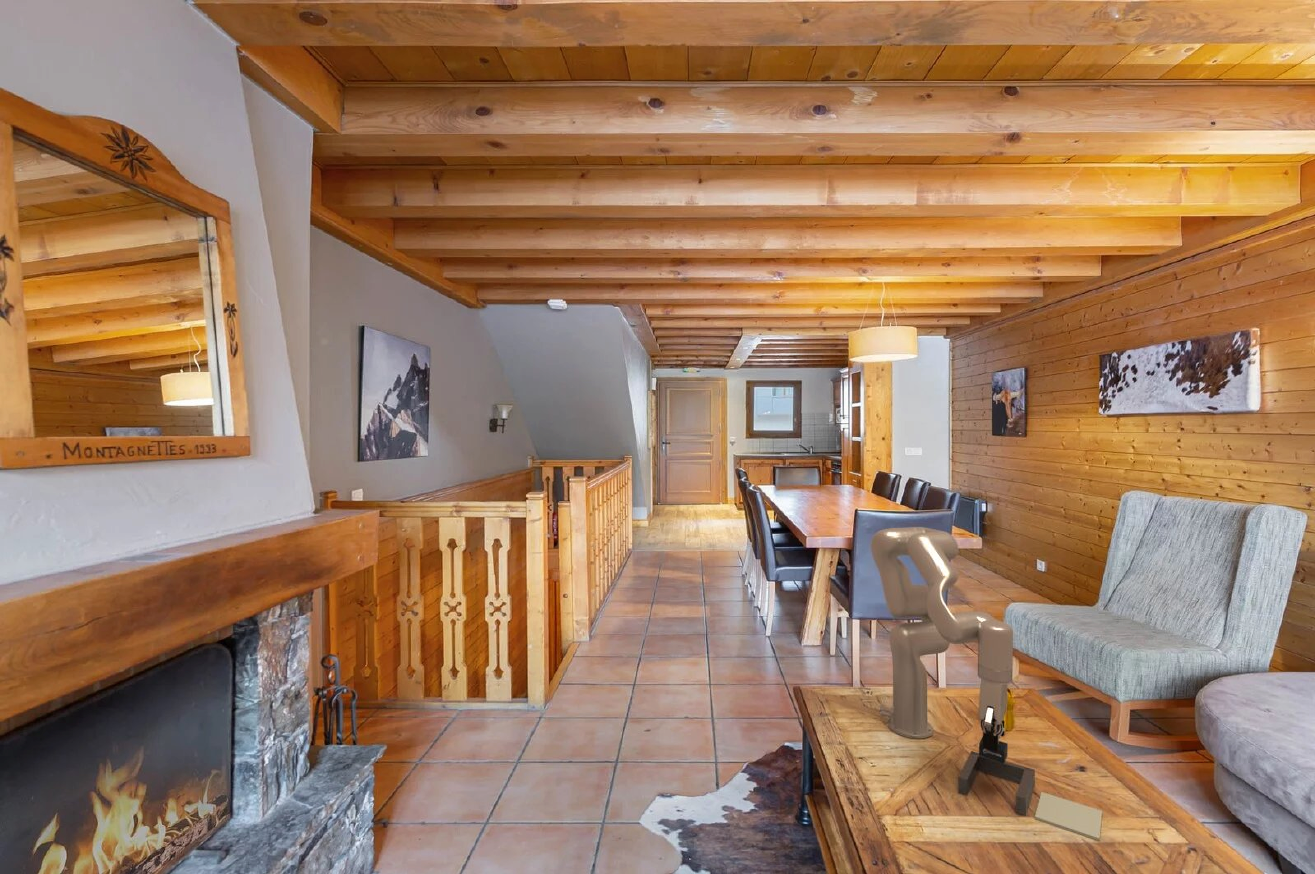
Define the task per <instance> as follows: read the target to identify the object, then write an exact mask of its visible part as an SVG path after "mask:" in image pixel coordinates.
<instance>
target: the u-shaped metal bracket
mask: <svg viewBox="0 0 1315 874" xmlns="http://www.w3.org/2000/svg"><path fill="white" fill-rule="evenodd" d="M979 772H981V773H984V774H987V775H990V776H994V777H997V778H1001V779H1003V780H1007V781H1010V782H1013V783H1016V784H1019V786H1018V788H1017V792H1016V794H1015V813H1016V814H1018V813H1019V815H1021V816H1025V817H1026V816H1027V814H1028V810H1029V806H1030V803H1031V799H1032V797H1033V792H1034V789H1035V786H1036V781H1035V780H1036V776H1035V773H1036V772H1035V769H1034V768H1031V767H1030V768H1029V767H1026V766H1023V765H1021V764H1017V763H1013V762H1009V761H1007V760H1005V763H1001V762H998V761H995V760H991V759H988V758H985V757H982V756H979V752H976V751H973V750H971V751H970V753H969V755H968V757H967V759H966V761H965V763H964V765H963V766H962V768H961V770H960V773H959V774H958V777H957V793H958V794H959V795H963V796H966V797H968V796H969V793H970V791H971V788H972V786H973V784H974V783H975V780H976V778H977V775H978V773H979Z"/></svg>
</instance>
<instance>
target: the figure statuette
mask: <svg viewBox="0 0 1315 874" xmlns="http://www.w3.org/2000/svg"><path fill="white" fill-rule="evenodd" d="M1013 695H1014V694H1013V691H1012V690H1011V689H1010V688H1009V687H1008V686H1007V708H1006V713H1005V716H1004V721H1005V726H1004V728H1005V731H1008V732H1011V731H1013V728H1014V726H1015V722H1016V719H1015V714H1014V707H1015V704H1016V700H1015V698H1014V696H1013Z"/></svg>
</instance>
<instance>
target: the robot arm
mask: <svg viewBox="0 0 1315 874" xmlns="http://www.w3.org/2000/svg"><path fill="white" fill-rule="evenodd" d="M870 542H871V543H870V551H871V555H872V558H873V561H874V563H875V566H876V568H877V570H878V573H879V576H880V581H881V586H882V590H883V593H884V598H885V603H886V607H887V609H888V612H889V614H890V615H891V616H892V617H893V618H896V619H910V618H920V621H912V622H903V623H902V622H901V623H899V624H896V625H895V626H892V628H891V629H890V631H889V634H888V640H889V645H890V652H891V658H892V707H890V708H889V707H887V706H885V705H879V707H878V708H879V709H878V710H879V711H878V712H880V716H883V717H886V718H888V719H887V726H888V729H890V731H891V732H893V733H894V734H897V735H900V736H902V737H905V738H910V739H919V740H920V739H927V738H929V737H930V736H932V735H933V734H934V727H933V726H932V725H931V723H929V722H928V672H927V668H926V666H925V665H924V663H923V662H922V660H921V657H923V656H927V655H928V656H929V655H937V654H938V655H939V654H943V653H945V652H946V651H947V650H948V649H949V647H950V644H953V645H959V644H960V645H961V644H969V643H977V677H978V678H979V679H981V681H980V686H979V698H978V701H979V702H978V713H977V714H978V715H977V716H978V719H979V721H981V720H983V719H984V717H985V721H984V729H983V732H982V737H983V748H985V749H989V750H992V751H995V752H997V751H998V735H997V728H998V725H999V724H1001V722H1002V725H1003V728H1004V726H1005V721H1004V716H1005V713H1006V708H1007V687H1008V685H1011V684H1012V683H1013V669H1014V668H1013V667H1014V666H1013V664H1014V662H1013V661H1014V658H1013V657H1014V656H1013V655H1014V630H1013V628H1012V626H1011V625H1009V623H1005V622H1003V621H999V620H998V619H996V618H994V617H993V616H992V615H990V614H989V613H988V612H986V611H979V610H977V611H975V610H974V611H962V612H961V611H960V612H952V611H951V610H950V609H949V607H948V604H946V601H945V600H944V597H943V593H945V592H946V591H947V590H949V589H951V588H952V587H953V586H955V585H956V583H957V581H958V580H959V573H958V572H957V570H956V569H955V568H954V566H953V564H952V563H951V562H950V561H952V560H954V559H956V558H957V556H958V554H959V544H958V541H957V540H956V538H955V537H954V536H953V534H951V533H949V532H948V531H947V532H946V531H943V530H938V529H934V528H930V527H924V526H910V527H889V528H884V529H881V530H880V529H879V530H878V531H877V532H876V533H874V535H873V536H872V539H871V541H870ZM899 556H909V557H910V559H911V561H912V562H913V564H914V565H915V567H916V569H917V570H918V572H919V573H920V576H921V577H922V578H923V580H924V582H925V583H926V584H913V583H912V580H911V575H910V572H909V569H908V568H907V566H906V565H905V564H904V563H903V562H902V560H901V559H899ZM992 719H995V720H996V722H995V721H992ZM992 724H994V725H995V726H994V728H993V727H992ZM1000 737H1005V732H1004V731H1003V732H1002V734H1001V736H1000Z"/></svg>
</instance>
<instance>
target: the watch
mask: <svg viewBox="0 0 1315 874" xmlns="http://www.w3.org/2000/svg"><path fill="white" fill-rule="evenodd" d="M984 721H985V717H984V719H983V720H980V724H979V726H980V728H981V731H982V733H983V729H984ZM992 721H995V722H996V720H995V719H992ZM994 726H995V725H994V724H992V727H993V728H994ZM1003 731H1004V733H1005V732H1006V730H1005V728H1003V725H1002V722H1001V724H999V725H998V728H997V735H998V751H997V752H995V751H992V750H989V749H985V748H983V736H982V737H981V739H980V741H979V743H978V751H979V752H978V753H979V756H982V757H985V758H988V759H991V760H995V761H998V762H1001V763H1005V761H1007V758H1008V749H1009V748H1008V747H1009V745H1008V742H1005V741H1002V740H1000V739H1001V737H1002V736H1001V734H1002V732H1003Z"/></svg>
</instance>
